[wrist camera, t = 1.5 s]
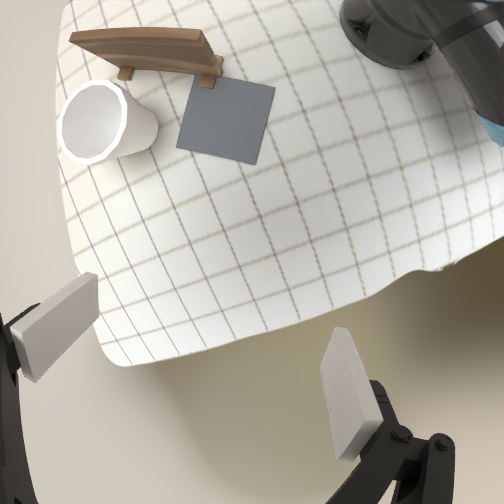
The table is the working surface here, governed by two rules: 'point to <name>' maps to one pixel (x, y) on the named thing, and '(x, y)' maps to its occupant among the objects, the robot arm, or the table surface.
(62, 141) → the foam cup
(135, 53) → the screen
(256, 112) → the mat
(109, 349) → the table surface
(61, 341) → the robot arm
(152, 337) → the table surface
